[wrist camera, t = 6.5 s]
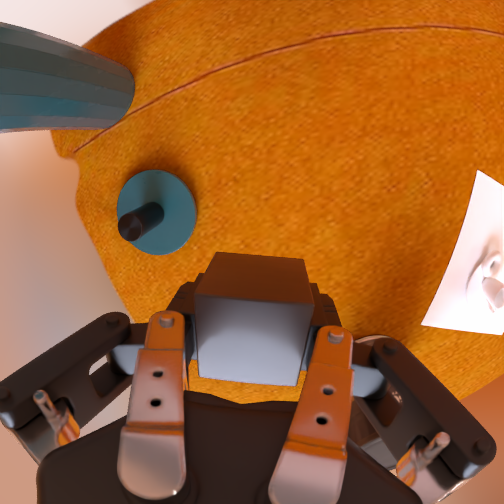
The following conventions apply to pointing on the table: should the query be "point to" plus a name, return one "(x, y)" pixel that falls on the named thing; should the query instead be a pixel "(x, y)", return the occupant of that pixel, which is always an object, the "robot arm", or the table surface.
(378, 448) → the coffee can
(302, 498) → the robot arm
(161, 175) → the lid
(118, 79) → the tin
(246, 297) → the block
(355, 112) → the table surface
